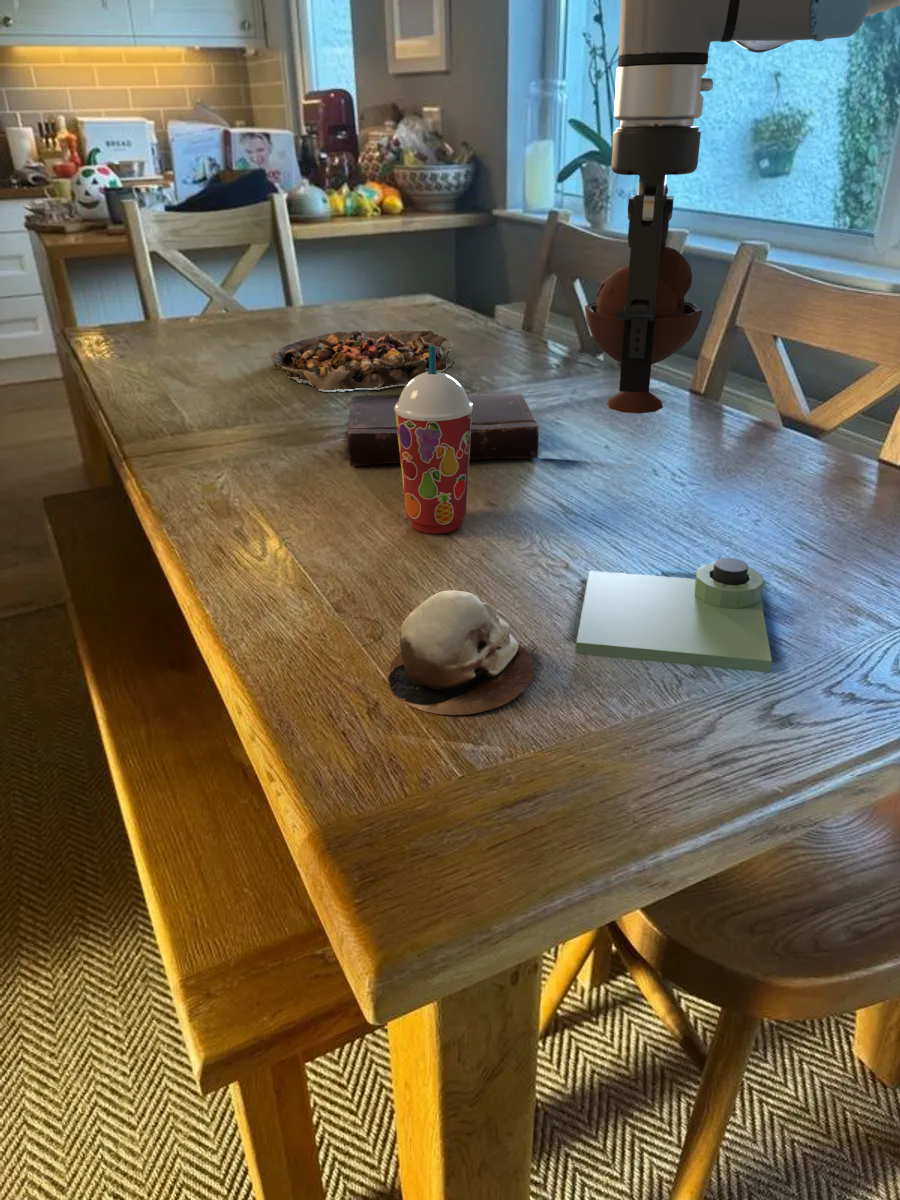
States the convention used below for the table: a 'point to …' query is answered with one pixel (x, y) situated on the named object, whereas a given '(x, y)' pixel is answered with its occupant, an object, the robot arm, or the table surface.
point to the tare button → (730, 571)
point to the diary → (494, 428)
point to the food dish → (361, 358)
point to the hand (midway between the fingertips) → (637, 375)
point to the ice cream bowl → (670, 320)
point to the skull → (458, 657)
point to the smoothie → (434, 449)
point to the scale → (675, 620)
